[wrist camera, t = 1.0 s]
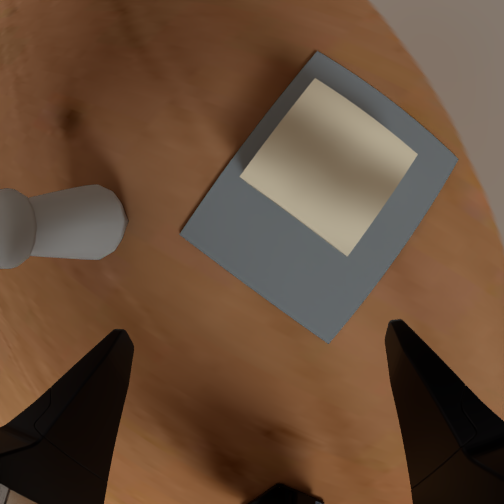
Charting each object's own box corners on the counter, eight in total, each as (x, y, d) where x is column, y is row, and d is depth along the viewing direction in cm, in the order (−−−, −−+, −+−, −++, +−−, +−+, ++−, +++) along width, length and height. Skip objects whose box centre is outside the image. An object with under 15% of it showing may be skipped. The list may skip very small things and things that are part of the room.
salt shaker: (70, 217, 25) (-47, 223, 12) (111, 172, 24) (-7, 148, 11) (105, 270, 25) (-11, 307, 12) (150, 226, 24) (34, 238, 11)
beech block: (337, 249, 23) (347, 256, 19) (247, 183, 23) (239, 176, 19) (398, 163, 21) (417, 154, 18) (310, 99, 22) (314, 77, 18)
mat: (328, 342, 24) (328, 343, 23) (180, 234, 24) (179, 234, 24) (456, 159, 21) (458, 159, 21) (317, 52, 21) (317, 51, 21)
